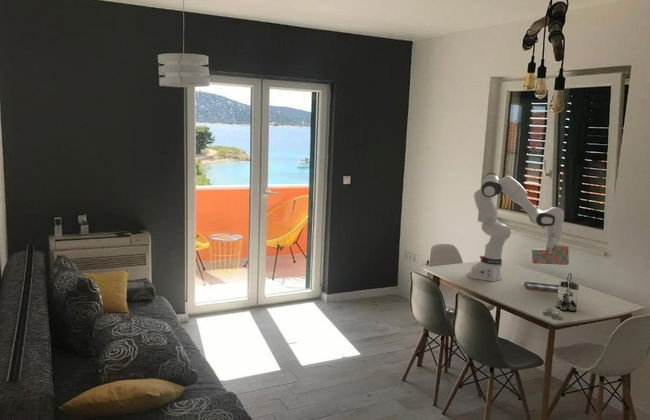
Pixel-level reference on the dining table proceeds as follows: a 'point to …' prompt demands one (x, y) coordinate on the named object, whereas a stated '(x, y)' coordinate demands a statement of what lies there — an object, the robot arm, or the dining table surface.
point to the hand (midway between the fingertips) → (551, 253)
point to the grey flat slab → (541, 286)
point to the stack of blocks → (551, 255)
